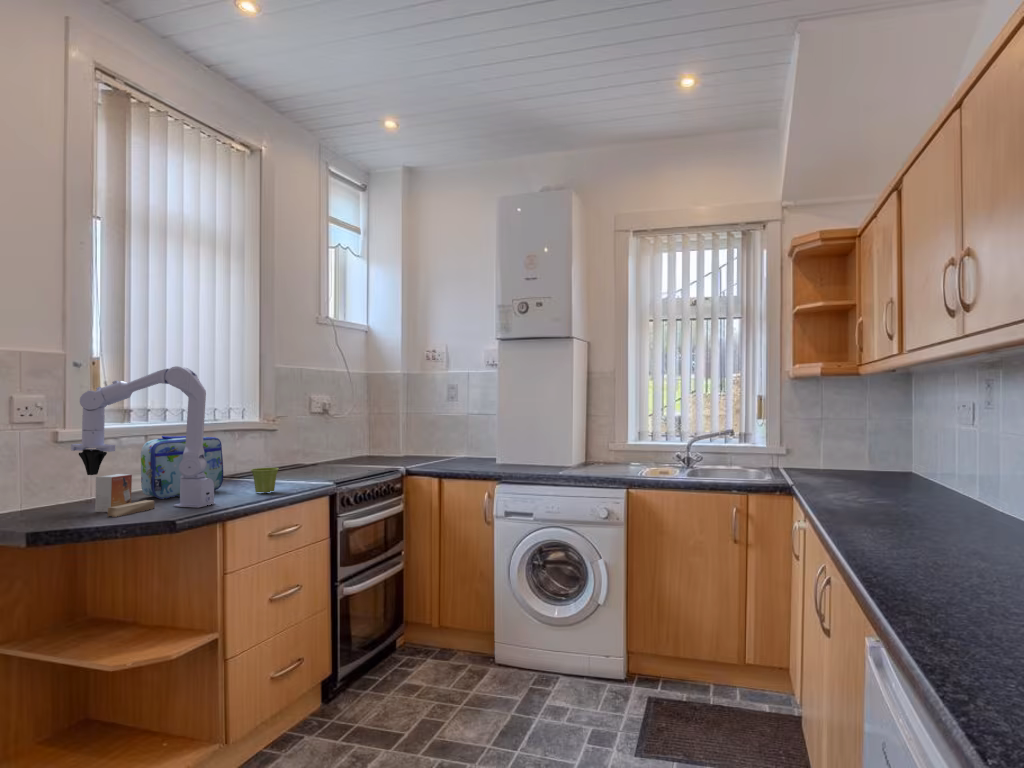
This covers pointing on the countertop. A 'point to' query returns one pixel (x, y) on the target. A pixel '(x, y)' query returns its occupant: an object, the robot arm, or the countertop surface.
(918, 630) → the countertop surface
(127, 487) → the small box
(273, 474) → the plant pot
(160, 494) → the lunch box
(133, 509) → the batten
